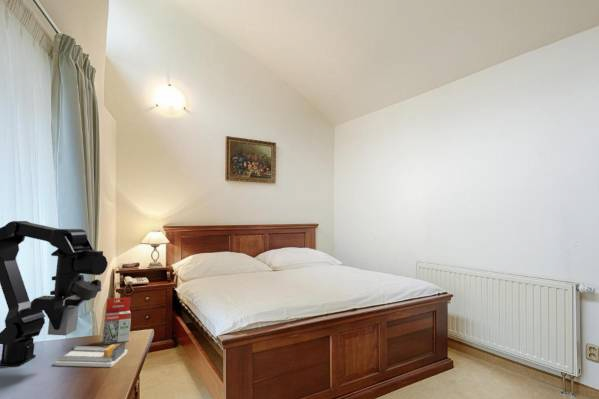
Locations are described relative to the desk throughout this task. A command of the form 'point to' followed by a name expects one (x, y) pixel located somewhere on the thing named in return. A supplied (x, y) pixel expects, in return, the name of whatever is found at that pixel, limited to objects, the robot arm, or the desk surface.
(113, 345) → the bar
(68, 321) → the block
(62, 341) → the desk surface
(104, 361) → the rail plate
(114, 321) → the ink box
